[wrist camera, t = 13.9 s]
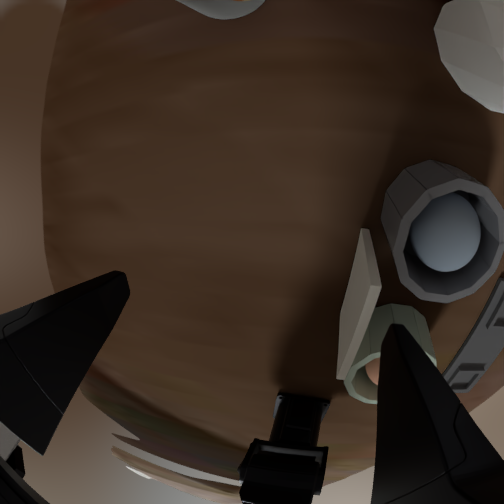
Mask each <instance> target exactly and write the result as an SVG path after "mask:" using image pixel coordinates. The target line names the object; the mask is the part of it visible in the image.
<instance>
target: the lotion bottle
mask: <svg viewBox="0 0 504 504" xmlns="http://www.w3.org/2000/svg"><path fill="white" fill-rule="evenodd" d="M177 1H179V2H181V3H183V4H185V5H187V6H188V7H190V8H192V9H194V10H196V11H198V12H200V13H202V14H204V15H206V16H209V17H212V18H216V19H234V18H238V17H242V16H245V15H247V14H249V13H251V12H253V11H254V10H256V9H257V8H258V7H259V6H261V5H262V4H263V2H264V1H265V0H177Z"/></svg>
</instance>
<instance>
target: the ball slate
mask: <svg viewBox="0 0 504 504" xmlns="http://www.w3.org/2000/svg"><path fill="white" fill-rule="evenodd" d="M409 236H410V242H411V245H412V247H413V250H414V252H415V253H416V255H417V256H418V258H419V259H420V260H421V261H422V262H423V263H424V264H425V265H427V266H428V267H430V268H432V269H434V270H437V271H443V272H448V271H454V270H457V269H460V268H461V267H463V266H465V265H466V264H467V263H468V262H469V261H470V260H471V259H472V258H473V256H474V255H475V253H476V251H477V249H478V246H479V243H480V237H481V229H480V222H479V219H478V216H477V213H476V211H475V210H474V208H473V207H472V205H471V204H470V203H469V202H468V201H467V200H466V199H465V198H463V197H462V196H460V195H458V194H456V193H453V192H451V193H448V194H445V195H443V196H440V197H437V198H434V199H432V200H431V201H430V202H429V203H428V205H427V206H426V207H425V208H424V209H423V210H422V211H421V213H420V214H419V215H418V216H417V217H416V218H415V219H414V220H413V221H412V223H411V225H410V229H409Z"/></svg>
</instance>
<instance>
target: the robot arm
mask: <svg viewBox="0 0 504 504" xmlns="http://www.w3.org/2000/svg"><path fill="white" fill-rule="evenodd" d="M129 296H130V289H129V285H128V281H127V277H126V274H125V273H124V272H121V271H116V270H115V271H112V272H109V273H106V274H104V275H101V276H99V277H96V278H93V279H91V280H88V281H86V282H83V283H80V284H78V285H75V286H73V287H70V288H68V289H65V290H63V291H60V292H58V293H55V294H53V295H50V296H48V297H45V298H43V299H40V300H38V301H36V302H33V303H30V304H28V305H25V306H23V307H20V308H18V309H15V310H13V311H10V312H7V313H4V314H1V315H0V504H50V503H48V502H47V501H46V500H45V499H44V498H43V497H41V496H40V495H39V494H38V493H37V492H36V491H35V490H33V488H31V487H30V486H29V485H28V484H27V483H26V482H25V481H24V480H23V477H24V475H25V469H24V462H23V454H22V448H21V447H20V446H19V445H18V443H19V442H20V440H22V441H23V442H24V443H26V444H27V445H28V446H29V447H31V448H32V449H33V450H35V451H36V452H37V453H39V454H40V455H41V456H43V455H44V453H45V451H46V449H47V447H48V445H49V443H50V441H51V439H52V437H53V434H54V432H55V430H56V428H57V426H58V424H59V422H60V420H61V419H62V417H63V414H64V412H65V411H66V409H67V407H68V405H69V403H70V401H71V399H72V398H73V396H74V394H75V392H76V390H77V388H78V387H79V385H80V383H81V381H82V380H83V378H84V376H85V374H86V373H87V371H88V369H89V367H90V366H91V364H92V362H93V361H94V359H95V357H96V356H97V354H98V352H99V351H100V349H101V347H102V346H103V344H104V342H105V341H106V339H107V338H108V336H109V334H110V333H111V331H112V329H113V327H114V325H115V324H116V322H117V320H118V318H119V316H120V314H121V312H122V310H123V308H124V306H125V304H126V302H127V300H128V298H129ZM329 406H330V401H327V400H321V399H314V398H307V397H301V396H295V395H290V394H284V393H278V394H277V398H276V403H275V408H274V413H273V418H275V420H274V424H273V428H272V431H271V435H270V438H269V441H265V440H259V439H257V438H255V439H254V441H253V442H252V443H251V444H250V447H249V449H248V452H247V454H246V456H245V458H244V459H243V461H242V463H241V464H240V466H239V467H238V470H237V471H238V473H239V474H240V479H239V481H240V484H242V486H241V489H240V492H239V494H240V498H241V501H242V503H243V504H311V503H312V498H313V495H320V493H321V489H322V485H323V481H324V475H325V469H326V462H327V455H328V447H327V446H324V447H317V442H318V436H319V430H320V424H321V421H322V420H323V418H324V416H325V414H326V412H327V410H328V408H329ZM371 504H504V460H503V459H502V458H501V456H500V455H499V454H498V452H497V451H496V450H495V448H494V447H493V446H492V445H491V443H490V442H489V441H488V439H487V438H486V437H485V435H484V434H483V433H482V431H481V430H480V429H479V427H478V426H477V425H476V423H475V422H474V420H473V419H472V417H471V416H470V415H469V413H468V412H467V410H466V409H465V407H464V406H463V404H462V403H460V400H459V398H458V397H457V396H456V394H455V393H454V391H453V390H452V388H451V387H450V385H449V384H448V383H447V381H446V380H445V378H444V377H443V376H442V374H441V373H440V372H439V370H438V369H437V367H436V366H435V365H434V363H433V362H432V361H431V359H430V358H429V357H428V355H427V354H426V353H425V351H424V350H423V349H422V347H421V346H420V345H419V343H418V342H417V341H416V340H415V338H414V337H413V336H412V334H411V333H410V332H409V331H408V329H407V328H406V327H405V326H404V325H403V324H397V323H392V324H390V326H389V328H388V330H387V332H386V334H385V337H384V339H383V341H382V344H381V351H380V366H379V378H378V389H377V439H376V457H375V470H374V481H373V490H372V498H371Z"/></svg>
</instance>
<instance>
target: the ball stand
mask: <svg viewBox="0 0 504 504" xmlns="http://www.w3.org/2000/svg"><path fill="white" fill-rule="evenodd" d="M503 347H504V278H499V279H498V281H497V283H496V285H495V287H494V290H493V292H492V294H491V296H490V298H489V300H488V302H487V304H486V305H485V307H484V309H483V311H482V313H481V315H480V317H479V318H478V320H477V322H476V324H475V325H474V327H473V329H472V330H471V332H470V334H469V335H468V337H467V339H466V340H465V342H464V343H463V345H462V347H461V348H460V350H459V351H458V353H457V354H456V356H455V357H454V359H453V360H452V362H451V363H450V364H449V366H448V367H447V369H446V370H445V371H444V373H443V374H442V376H443V377H444V378H445V380H446V381H447V383H448V384H449V385H450V387H451V388H452V390H453V391H454V393H466V392H469V391H470V390H471V389H472V388H473V386H474V385H475V384H476V383H477V382H478V380H479V379H480V378H481V377H482V375H483V374H484V373H485V372H486V370H487V369H488V368H489V367H490V365H491V364H492V363H493V361H494V360H495V358H496V357H497V356H498V354H499V353H500V352H501V350H502V349H503Z"/></svg>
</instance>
